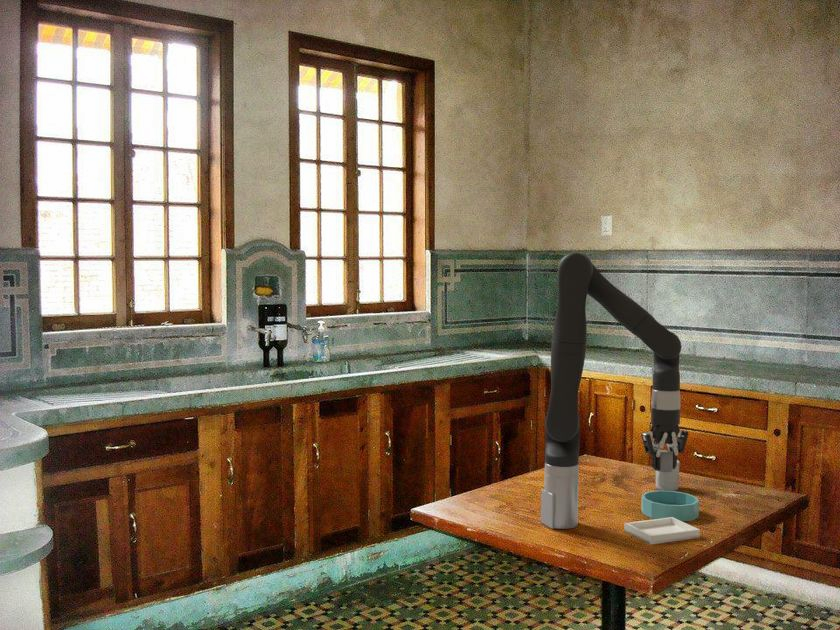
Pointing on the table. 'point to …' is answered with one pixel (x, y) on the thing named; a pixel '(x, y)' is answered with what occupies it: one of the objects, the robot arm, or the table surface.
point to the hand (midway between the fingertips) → (664, 468)
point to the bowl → (670, 505)
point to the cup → (668, 479)
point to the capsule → (666, 461)
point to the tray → (661, 530)
